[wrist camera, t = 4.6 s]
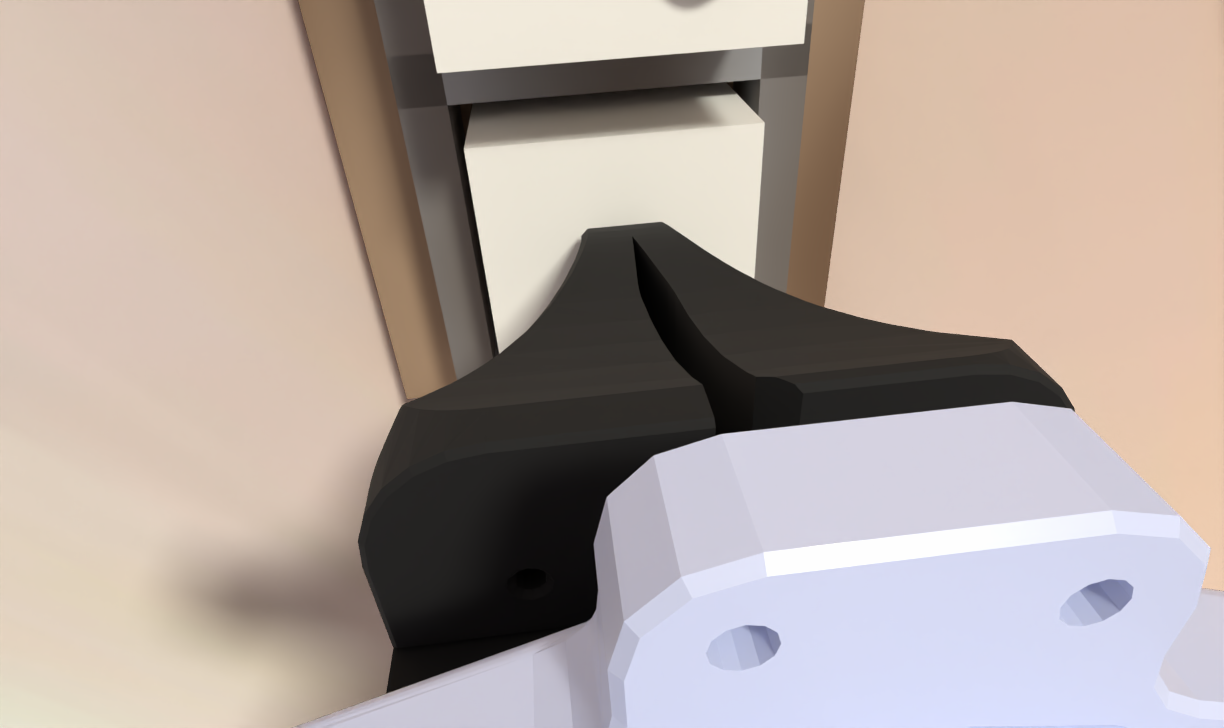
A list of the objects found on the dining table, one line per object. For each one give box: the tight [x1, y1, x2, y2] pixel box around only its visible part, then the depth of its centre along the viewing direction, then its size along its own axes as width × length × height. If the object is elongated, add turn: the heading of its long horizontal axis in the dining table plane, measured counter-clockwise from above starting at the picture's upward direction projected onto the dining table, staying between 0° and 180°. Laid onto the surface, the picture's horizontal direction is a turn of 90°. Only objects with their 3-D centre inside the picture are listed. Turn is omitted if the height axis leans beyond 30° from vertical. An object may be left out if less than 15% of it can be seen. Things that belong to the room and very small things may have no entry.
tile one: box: [464, 82, 765, 354], centre depth 13 cm, size 5×5×3 cm
